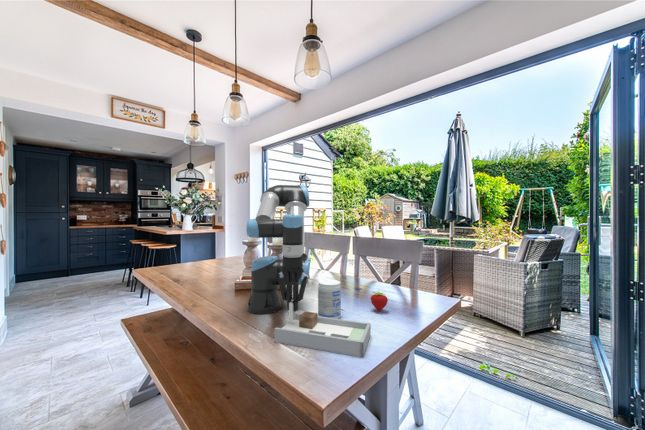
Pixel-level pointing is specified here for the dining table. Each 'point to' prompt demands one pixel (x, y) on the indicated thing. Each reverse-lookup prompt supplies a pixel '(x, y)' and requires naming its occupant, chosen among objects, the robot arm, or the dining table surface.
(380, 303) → the strawberry
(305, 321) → the walnut block
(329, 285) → the supplement tub
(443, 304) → the dining table surface
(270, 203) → the robot arm
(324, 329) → the box
